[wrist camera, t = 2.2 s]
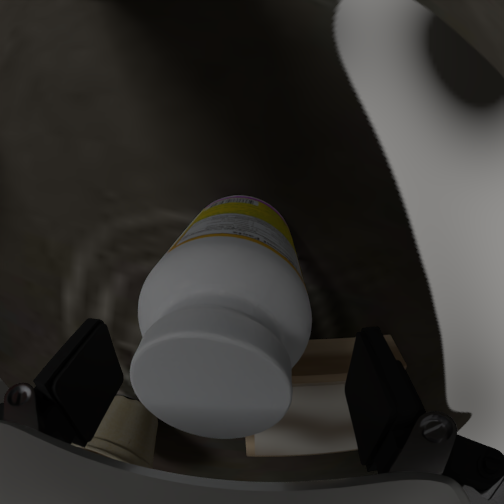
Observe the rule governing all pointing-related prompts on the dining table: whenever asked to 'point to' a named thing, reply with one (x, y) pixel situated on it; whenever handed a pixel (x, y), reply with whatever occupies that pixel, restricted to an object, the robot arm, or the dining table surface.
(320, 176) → the dining table surface
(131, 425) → the flower pot
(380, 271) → the dining table surface
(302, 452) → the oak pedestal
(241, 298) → the supplement bottle
